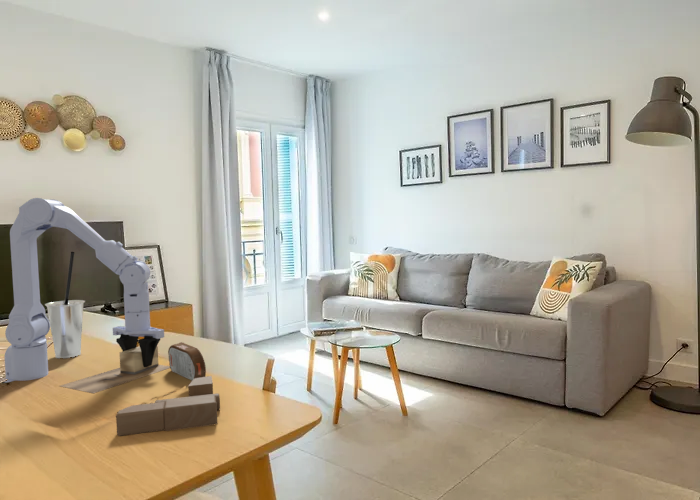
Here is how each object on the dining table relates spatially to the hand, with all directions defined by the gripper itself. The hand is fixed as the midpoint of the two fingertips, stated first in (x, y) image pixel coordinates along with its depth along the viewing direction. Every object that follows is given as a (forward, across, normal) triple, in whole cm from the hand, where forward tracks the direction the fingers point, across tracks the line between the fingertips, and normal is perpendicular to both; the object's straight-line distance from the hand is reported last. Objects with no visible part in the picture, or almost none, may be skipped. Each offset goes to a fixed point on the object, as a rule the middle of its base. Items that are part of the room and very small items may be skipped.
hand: (139, 365), depth 130 cm
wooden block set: (+3, +26, -19) cm, 33 cm away
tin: (+2, +14, 0) cm, 15 cm away
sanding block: (+1, 0, 0) cm, 1 cm away
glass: (+2, -33, +8) cm, 34 cm away
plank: (+2, -1, -6) cm, 6 cm away
